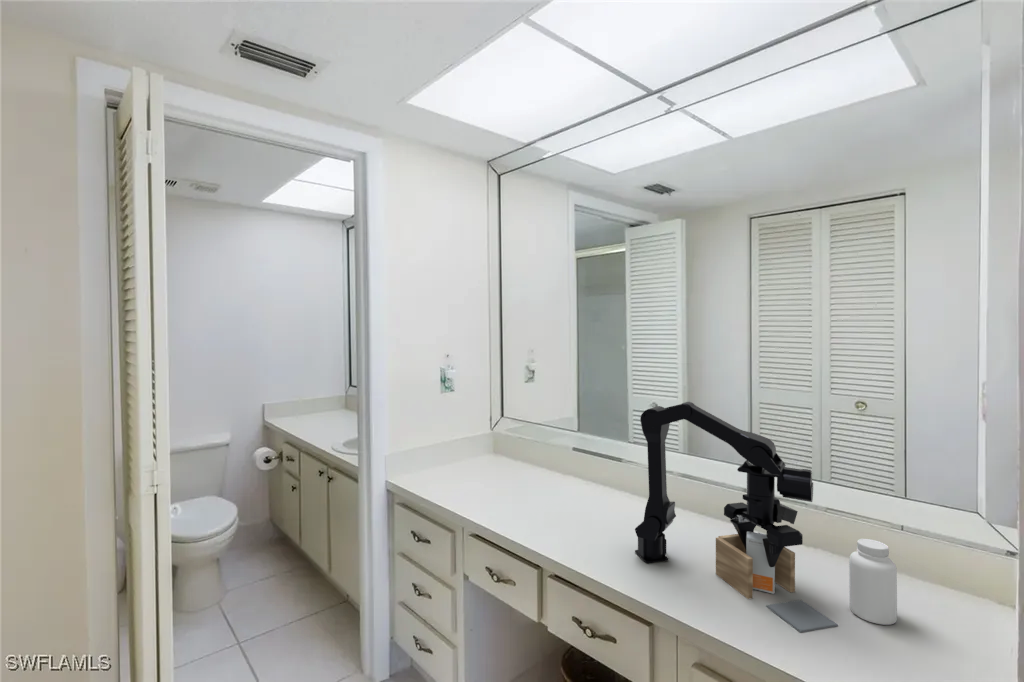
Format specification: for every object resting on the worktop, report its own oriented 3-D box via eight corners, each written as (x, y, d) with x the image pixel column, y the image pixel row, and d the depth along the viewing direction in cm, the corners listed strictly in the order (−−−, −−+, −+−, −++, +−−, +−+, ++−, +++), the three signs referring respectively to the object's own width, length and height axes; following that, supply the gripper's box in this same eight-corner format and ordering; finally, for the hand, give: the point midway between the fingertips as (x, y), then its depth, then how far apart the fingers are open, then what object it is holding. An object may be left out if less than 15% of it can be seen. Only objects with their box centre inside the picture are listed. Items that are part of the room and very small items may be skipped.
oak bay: (747, 599, 105) (748, 558, 105) (714, 572, 117) (714, 536, 117) (794, 591, 108) (795, 552, 108) (757, 566, 119) (757, 531, 119)
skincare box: (745, 588, 109) (745, 537, 109) (746, 579, 113) (746, 530, 113) (775, 595, 107) (775, 542, 106) (775, 586, 110) (775, 535, 110)
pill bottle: (875, 603, 103) (875, 535, 103) (907, 625, 95) (908, 552, 95) (840, 604, 103) (840, 535, 103) (869, 627, 95) (869, 553, 95)
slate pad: (800, 632, 93) (800, 630, 93) (766, 606, 102) (766, 605, 102) (837, 626, 95) (837, 624, 95) (801, 601, 104) (801, 599, 104)
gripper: (824, 504, 102) (823, 575, 103) (760, 478, 120) (760, 538, 121) (780, 508, 100) (780, 581, 100) (722, 481, 118) (722, 543, 118)
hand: (760, 559), depth 110 cm, fingers closed on skincare box, 7 cm apart
